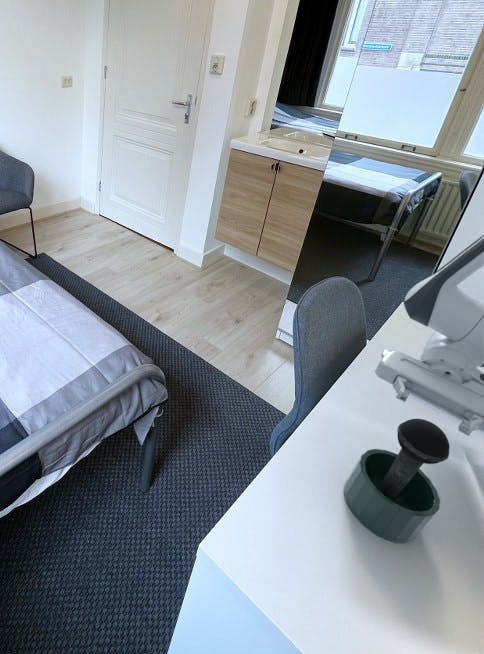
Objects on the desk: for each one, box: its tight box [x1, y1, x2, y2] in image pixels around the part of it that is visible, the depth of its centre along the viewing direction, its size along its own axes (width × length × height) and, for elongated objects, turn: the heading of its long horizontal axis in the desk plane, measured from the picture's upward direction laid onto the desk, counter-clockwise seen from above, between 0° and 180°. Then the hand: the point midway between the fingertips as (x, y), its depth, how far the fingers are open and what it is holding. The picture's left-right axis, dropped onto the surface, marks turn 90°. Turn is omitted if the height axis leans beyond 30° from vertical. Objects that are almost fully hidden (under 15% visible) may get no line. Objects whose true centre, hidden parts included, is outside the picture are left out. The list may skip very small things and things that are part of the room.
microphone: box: [380, 418, 450, 498], centre depth 70 cm, size 7×7×20 cm
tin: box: [343, 448, 441, 544], centre depth 73 cm, size 12×12×8 cm
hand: (432, 413), depth 75 cm, fingers open, 8 cm apart
